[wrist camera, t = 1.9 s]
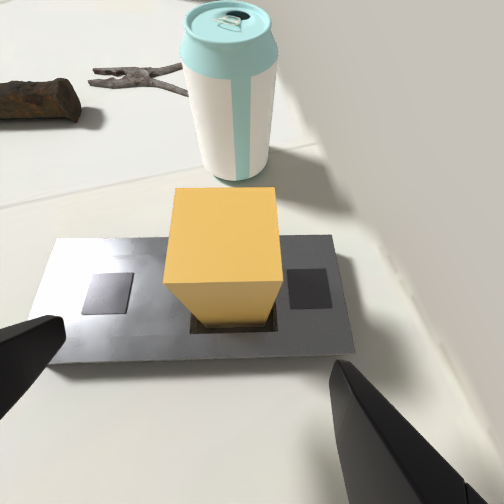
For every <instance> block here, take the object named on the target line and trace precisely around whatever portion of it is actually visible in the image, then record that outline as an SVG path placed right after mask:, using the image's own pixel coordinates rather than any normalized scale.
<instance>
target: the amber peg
mask: <svg viewBox="0 0 504 504" xmlns="http://www.w3.org/2000/svg"><path fill="white" fill-rule="evenodd" d="M282 282H283V273H282V262H281V251H280V240H279V229H278V218H277V207H276V195H275V187H240V188H176V189H175V196H174V203H173V211H172V218H171V225H170V233H169V240H168V248H167V255H166V262H165V270H164V277H163V284H164V285H165V286H166V287H167V288H168V289H169V290H170V291H171V292H172V293H173V294H174V295H175V296H176V297H177V298H178V299H179V300H180V302H181V303H182V304H183V305H184V306H185V307H186V308H187V309H188V310H189V311H190V312H191V313H192V314H193V315H194V316H195V317H196V318H197V319H198V320H199V321H200V322H201V323H202V324H203V325H204V326H205V327H206V328H225V327H261V326H264V325H265V323H266V321H267V318H268V316H269V313H270V311H271V309H272V306H273V304H274V302H275V299H276V297H277V294H278V292H279V290H280V287H281V285H282Z"/></svg>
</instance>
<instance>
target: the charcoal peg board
mask: <svg viewBox="0 0 504 504" xmlns="http://www.w3.org/2000/svg"><path fill="white" fill-rule="evenodd" d="M168 240H169V237H155V238H93V239H57V241H56V244H55V247H54V249H53V252H52V255H51V258H50V260H49V263H48V266H47V269H46V271H45V274H44V277H43V280H42V282H41V285H40V288H39V291H38V293H37V296H36V299H35V302H34V304H33V307H32V310H31V313H30V315H29V318H28V320H31V319H34V318H38V317H41V316H44V315H57V316H61V317H62V318H63V320H64V325H65V331H66V341H65V343H64V344H63V346H62V347H61V348H60V350H59V351H58V352H57V353H56V355H55V356H54V357H53V359H52V360H51V361H50V362H49V364H80V363H111V362H142V361H174V360H205V359H236V358H267V357H299V356H330V355H346V354H354V353H355V349H354V344H353V339H352V334H351V329H350V324H349V319H348V314H347V309H346V304H345V299H344V294H343V289H342V284H341V279H340V274H339V269H338V264H337V259H336V254H335V249H334V244H333V239H332V235H279V240H280V251H281V262H282V273H283V282H282V285H281V287H280V290H279V292H278V294H277V297H276V299H275V302H274V304H273V306H272V309H273V324H274V332H250V333H215V334H197V318H196V317H195V316H194V315H193V314H192V313H191V312H190V311H189V310H188V309H187V308H186V307H185V306H184V305H183V304H182V303H181V302H180V300H179V299H178V298H177V297H176V296H175V295H174V294H173V293H172V292H171V291H170V290H169V289H168V288H167V287H166V286H165V285H164V284H163V277H164V270H165V262H166V255H167V248H168ZM49 364H48V365H49Z"/></svg>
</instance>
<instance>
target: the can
mask: <svg viewBox="0 0 504 504" xmlns="http://www.w3.org/2000/svg"><path fill="white" fill-rule="evenodd" d="M271 24H272V23H271V18H270V16H269V15H268V14H267V13H266V12H265V11H264V10H263V9H261V8H260V7H257V6H255V5H253V4H250V3H246V2H241V1H232V0H222V1H213V2H208V3H204V4H201V5H199V6H197V7H195V8H193V9H192V10H190V11H189V12H188V13H187V15H186V16H185V18H184V27H185V30H186V32H185V35H184V38H183V40H182V43H181V47H180V57H181V61H182V66H183V71H184V76H185V80H186V85H187V90H188V94H189V99H190V104H191V109H192V113H193V118H194V123H195V127H196V132H197V137H198V142H199V146H200V151H201V156H202V160H203V164H204V166H205V167H206V169H207V170H208V171H209V172H210V173H211V174H213V175H214V176H216V177H219V178H221V179H225V180H232V181H238V180H245V179H248V178H251V177H253V176H255V175H257V174H258V173H259V172H261V171H262V170H263V168H264V167H265V165H266V163H267V160H268V151H269V141H270V131H271V121H272V111H273V101H274V91H275V81H276V71H277V61H278V48H277V44H276V42H275V40H274V37H273V35H272V33H271V30H270V29H271Z"/></svg>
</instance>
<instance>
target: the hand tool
mask: <svg viewBox="0 0 504 504" xmlns="http://www.w3.org/2000/svg"><path fill="white" fill-rule="evenodd" d="M80 114H81V104H80V101H79V98H78V96H77V94H76V92H75V90H74V88H73V86H72V85H71V83H70V82H69V81H68V80H67V79H64V78H57V79H55V80H53V81H48V82H31V81H28V82H23V81H10V82H8V83H0V118H57V117H67V118H68V119H70V120H71V121H73V122H75V123H76V122H77V121H78V118H79V117H80Z"/></svg>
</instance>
